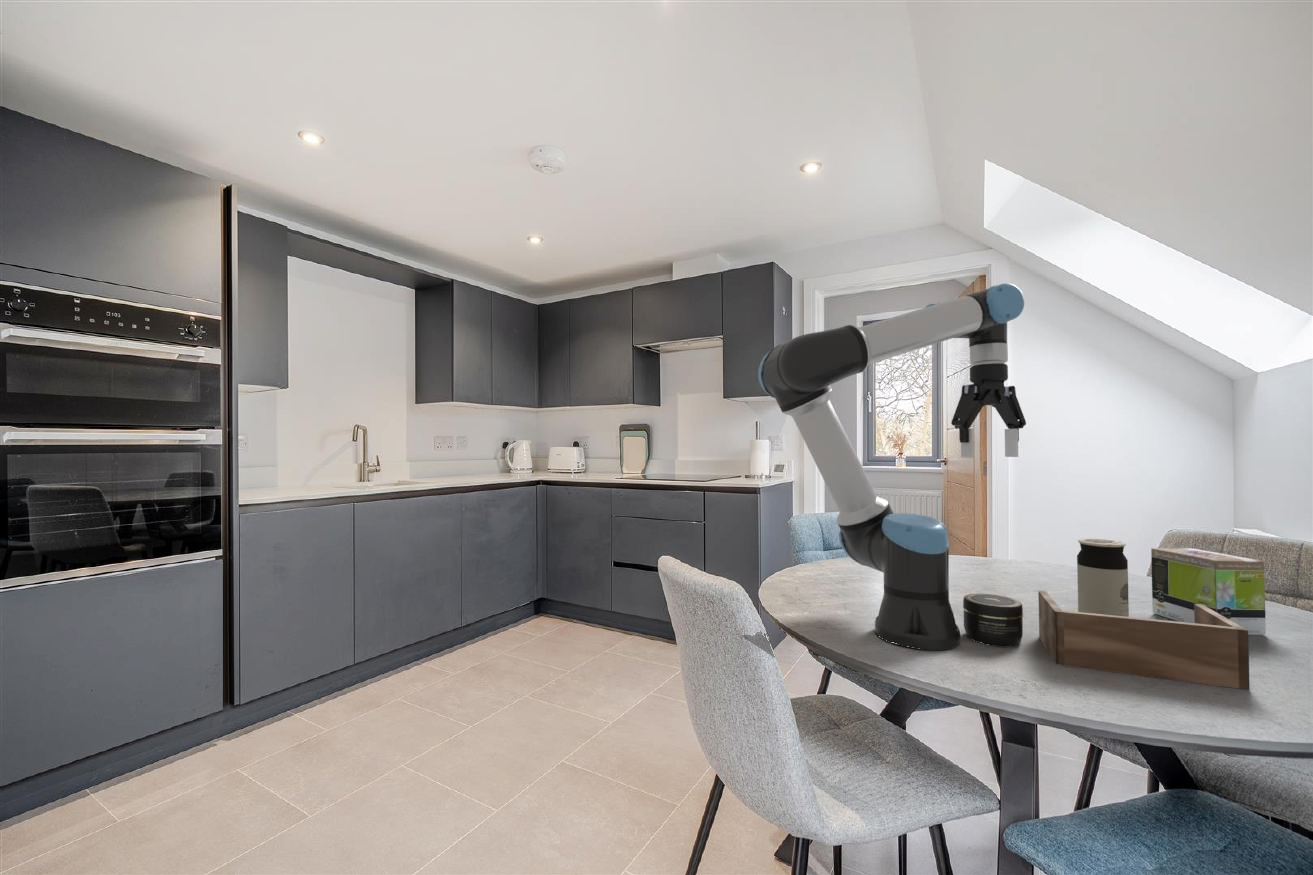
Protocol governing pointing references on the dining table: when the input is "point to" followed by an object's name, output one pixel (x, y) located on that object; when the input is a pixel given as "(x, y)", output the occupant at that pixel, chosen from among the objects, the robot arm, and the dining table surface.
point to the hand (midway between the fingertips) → (989, 457)
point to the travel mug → (1102, 577)
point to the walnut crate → (1148, 645)
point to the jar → (993, 619)
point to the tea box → (1208, 586)
